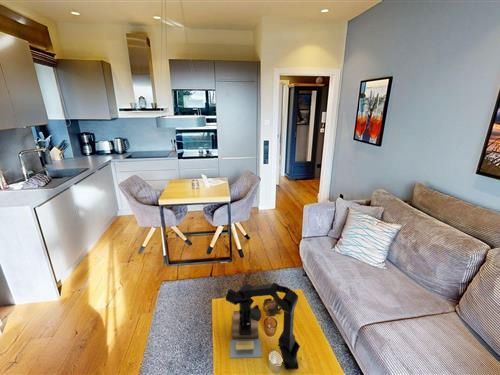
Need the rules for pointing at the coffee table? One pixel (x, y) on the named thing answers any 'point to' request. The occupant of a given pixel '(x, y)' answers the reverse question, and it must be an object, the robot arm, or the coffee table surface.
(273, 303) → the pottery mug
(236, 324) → the deck
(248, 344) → the bevelled yellow tile
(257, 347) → the mat
